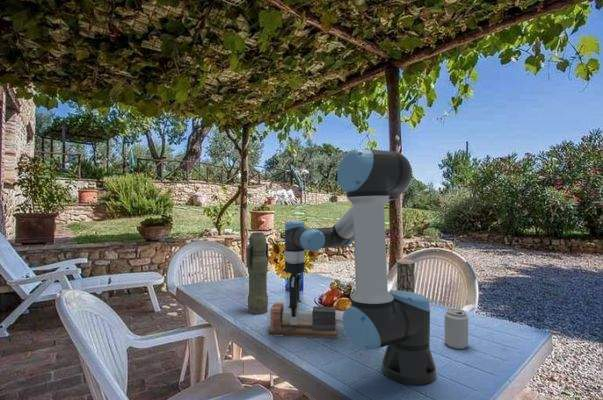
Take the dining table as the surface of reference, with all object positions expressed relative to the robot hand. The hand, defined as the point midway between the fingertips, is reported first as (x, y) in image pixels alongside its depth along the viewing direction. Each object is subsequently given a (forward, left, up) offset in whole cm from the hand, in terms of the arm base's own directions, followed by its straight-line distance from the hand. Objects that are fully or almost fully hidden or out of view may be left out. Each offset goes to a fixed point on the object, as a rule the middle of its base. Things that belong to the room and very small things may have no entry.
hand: (294, 322), depth 135 cm
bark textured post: (+13, -44, -3) cm, 46 cm away
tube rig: (0, -3, -3) cm, 5 cm away
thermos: (+20, +19, -3) cm, 28 cm away
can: (-8, -57, -3) cm, 58 cm away
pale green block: (0, -3, 0) cm, 3 cm away
